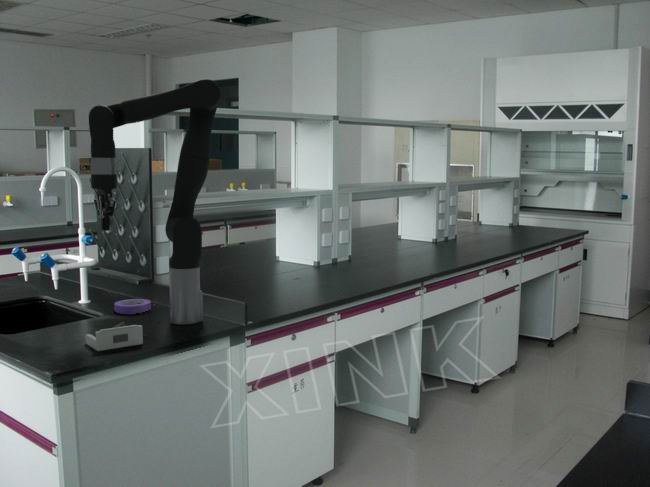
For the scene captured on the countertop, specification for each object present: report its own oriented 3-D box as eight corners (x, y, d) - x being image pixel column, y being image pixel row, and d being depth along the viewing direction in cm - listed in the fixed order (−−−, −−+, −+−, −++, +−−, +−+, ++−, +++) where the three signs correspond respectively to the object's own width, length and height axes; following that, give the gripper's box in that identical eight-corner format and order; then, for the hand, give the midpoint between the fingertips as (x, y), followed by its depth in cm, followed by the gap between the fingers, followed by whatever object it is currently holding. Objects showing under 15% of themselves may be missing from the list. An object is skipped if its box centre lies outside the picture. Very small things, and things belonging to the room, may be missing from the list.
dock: (129, 336, 192) (129, 318, 192) (143, 343, 185) (142, 325, 184) (85, 343, 185) (85, 324, 184) (97, 351, 177) (97, 331, 177)
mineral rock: (94, 345, 186) (121, 341, 185) (90, 330, 186) (118, 326, 185) (110, 335, 197) (136, 331, 196) (106, 321, 196) (132, 316, 195)
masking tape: (134, 318, 216) (133, 307, 216) (106, 315, 222) (106, 303, 221) (158, 312, 227) (158, 300, 226) (131, 308, 232) (131, 297, 232)
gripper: (124, 173, 200) (125, 231, 202) (108, 173, 211) (110, 228, 213) (98, 173, 196) (100, 232, 198) (84, 173, 206) (86, 229, 208)
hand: (105, 230), depth 205 cm, fingers closed
